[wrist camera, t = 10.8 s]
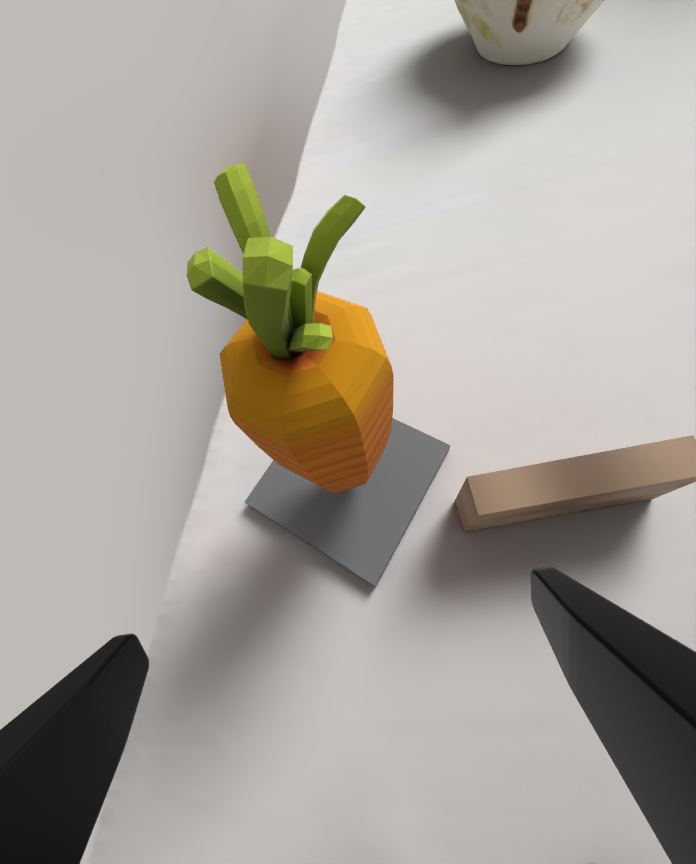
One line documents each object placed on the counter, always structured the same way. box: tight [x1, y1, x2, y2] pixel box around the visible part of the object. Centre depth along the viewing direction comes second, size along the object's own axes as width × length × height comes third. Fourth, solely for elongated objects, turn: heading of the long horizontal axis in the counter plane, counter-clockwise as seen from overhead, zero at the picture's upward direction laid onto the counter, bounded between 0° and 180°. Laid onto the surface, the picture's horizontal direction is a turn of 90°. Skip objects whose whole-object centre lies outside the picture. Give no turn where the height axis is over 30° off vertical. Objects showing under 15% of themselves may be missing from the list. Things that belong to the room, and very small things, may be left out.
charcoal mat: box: [245, 418, 450, 587], centre depth 20 cm, size 8×8×1 cm
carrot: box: [187, 163, 393, 493], centre depth 13 cm, size 5×5×15 cm
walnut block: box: [455, 436, 696, 532], centre depth 17 cm, size 9×2×4 cm, turn 98°
